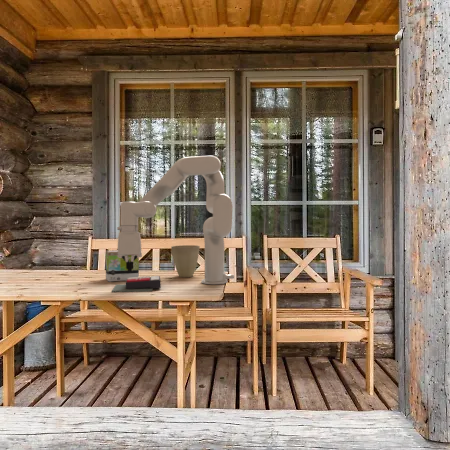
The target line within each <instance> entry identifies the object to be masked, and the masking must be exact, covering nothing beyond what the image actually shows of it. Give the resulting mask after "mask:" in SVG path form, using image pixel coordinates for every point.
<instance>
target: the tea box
mask: <svg viewBox="0 0 450 450" xmlns="http://www.w3.org/2000/svg"><path fill="white" fill-rule="evenodd" d="M117 255H118V249H112V250H109V249H108V250H105V279H106V280H107V282H121V281H123V282H124V281H125V282H126V280H127V279H128V278H131V277H138V278H139V277H140V275H139V273H140V269H139V267H140V266H139V262H140V260H139V259H140V257H139V258H136V259H135V260H134V261H133V269H132V271H128V269H126V261H125V260H124V259H123V258H119V257H117ZM123 256H125V255H123ZM131 256H132V255H128V259H129V262H130V260H131Z"/></svg>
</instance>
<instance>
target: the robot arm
mask: <svg viewBox="0 0 450 450" xmlns="http://www.w3.org/2000/svg"><path fill="white" fill-rule="evenodd" d="M221 167H222V162H221V161H220V159H219V158H218V157H217V156H215V155H200V156H185V157H182V158H179V159H178V160H176V161H175V162H174V163H173V165H171V167H170V168H168V170H167V171H166V172H165V174H163V176H161V178H160V179H159V180H158V181H157V182H156V183H155V184H154V185H153V186H152V187H151V188H150V189H149V190H148V192H147V193H145V195H143V197H142V198H141V199H140V200H139V201H121V203H120V226H118V227H117V230H118V231H120V232H119V233H118V235H117V237H118V238H117V250H118V255H117V257H119V258H123V259H124V260H125V261H126V269H128V271H132V269H133V261H134V260H135V259H136V258H139V259H140V258H142V257H143V254H142V240H141V239H142V238H141V233H140V232H139V218H144V219H150V218H152V217H154V216H155V215H156V213H157V206H158V205H159V204H160V203H161V202H162V201H163V200H165V199H166V198H168V197H170V196H171V195H172V194H174V193H175V192H176V191H177V189H178V188H179V187H180V185H182V184H183V182H185V181H186V179H187V178H188V177H189V176H202V177H203V178H204V179H205V184H206V200H205V207H206V210H207V211H208V212H209V213H210V214H212V216H210V217H208V218H207V219H206V220H205V221H204V223H203V226H202V233H203V238H204V241H203V242H204V278H202V279H201V280H200V281H201V283H202V284H205V285H223V284H227V283H228V280H229V279H232V280H233V279H235V274H227V273H226V272H225V239H224V238H226V237H228V236H229V235H230V233H231V231H232V228H233V209H234V208H233V200H232V199H231V197H230V196H229V195H227V194H225V179H224V176H223V174H222V172H221V171H220V170H221ZM123 255H125V256H123ZM128 255H132V256H131V260H130V262H129V259H128Z"/></svg>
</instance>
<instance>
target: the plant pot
mask: <svg viewBox="0 0 450 450" xmlns="http://www.w3.org/2000/svg"><path fill="white" fill-rule="evenodd" d="M200 247H201V246H200V245H197V244H196V245H194V244H191V245H188V244H186V245H185V244H182V245H181V244H179V245H172V246H171V254H172V259H173V263H174V267H175V269H176V272H177V275H178V278H179V277H180V278H191V277H193V276H194V275H195V270H196V269H197V268H196V267H197V265H198V260H199V254H200Z"/></svg>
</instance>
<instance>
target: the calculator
mask: <svg viewBox="0 0 450 450" xmlns="http://www.w3.org/2000/svg"><path fill="white" fill-rule="evenodd" d="M125 284H126V289H137V288H149V287H150V288H152V290H153V289H161V287H162V283H161V276H159V275H153V276H150V275H146V276H145V275H143V276H139V278H138V277H131V278H128V279H127V280H126V281H125Z"/></svg>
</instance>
